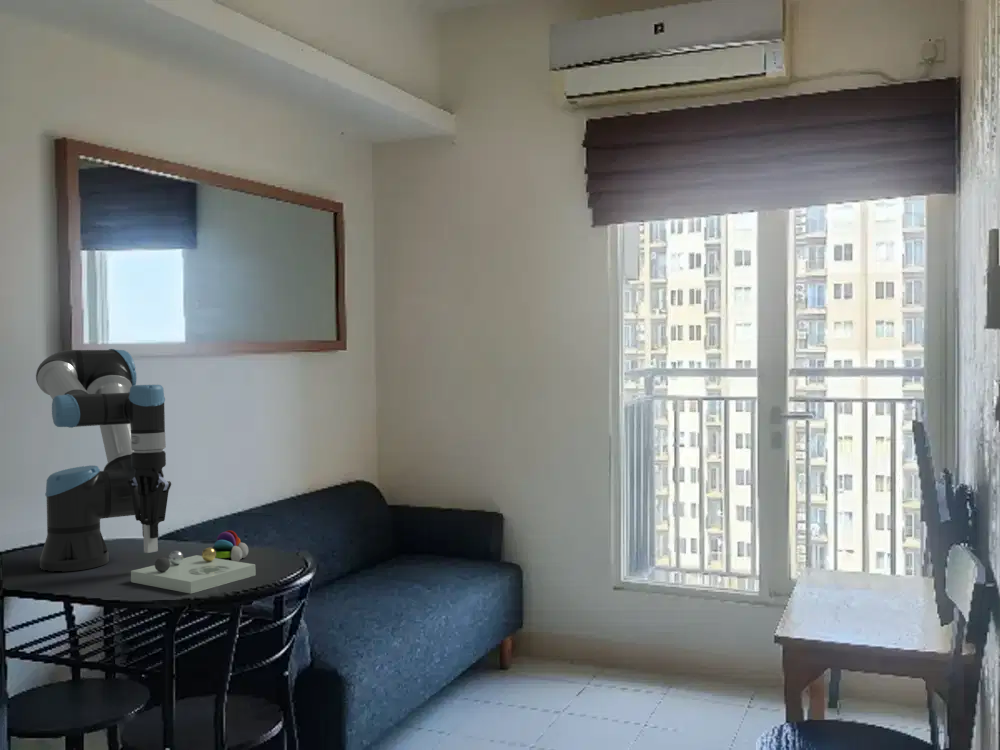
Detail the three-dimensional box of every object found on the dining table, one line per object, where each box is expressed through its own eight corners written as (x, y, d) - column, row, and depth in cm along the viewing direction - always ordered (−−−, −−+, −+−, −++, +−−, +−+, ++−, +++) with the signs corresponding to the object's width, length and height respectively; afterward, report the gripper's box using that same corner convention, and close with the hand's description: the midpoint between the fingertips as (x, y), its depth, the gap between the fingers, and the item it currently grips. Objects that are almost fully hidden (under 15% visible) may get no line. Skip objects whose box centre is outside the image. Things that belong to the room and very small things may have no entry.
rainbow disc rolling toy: (251, 556, 229) (251, 527, 228) (236, 565, 219) (236, 535, 219) (218, 556, 229) (218, 527, 229) (202, 565, 220) (202, 535, 220)
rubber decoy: (151, 572, 202) (151, 558, 201) (164, 569, 204) (163, 555, 204) (161, 574, 200) (160, 559, 200) (173, 571, 203) (173, 556, 202)
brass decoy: (198, 561, 211) (198, 548, 211) (209, 559, 214) (209, 545, 214) (208, 563, 210) (207, 549, 209) (219, 560, 212) (219, 547, 212)
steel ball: (165, 565, 208) (165, 551, 208) (177, 562, 211) (177, 548, 211) (175, 566, 207) (174, 552, 206) (186, 564, 209) (186, 550, 209)
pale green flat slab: (131, 582, 203) (130, 570, 203) (196, 565, 219) (196, 555, 218) (191, 593, 193) (190, 581, 193) (255, 575, 208) (255, 564, 208)
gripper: (116, 451, 213) (119, 552, 214) (152, 453, 206) (155, 557, 207) (144, 448, 220) (146, 546, 220) (180, 450, 213) (182, 551, 213)
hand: (150, 551), depth 213 cm, fingers closed
